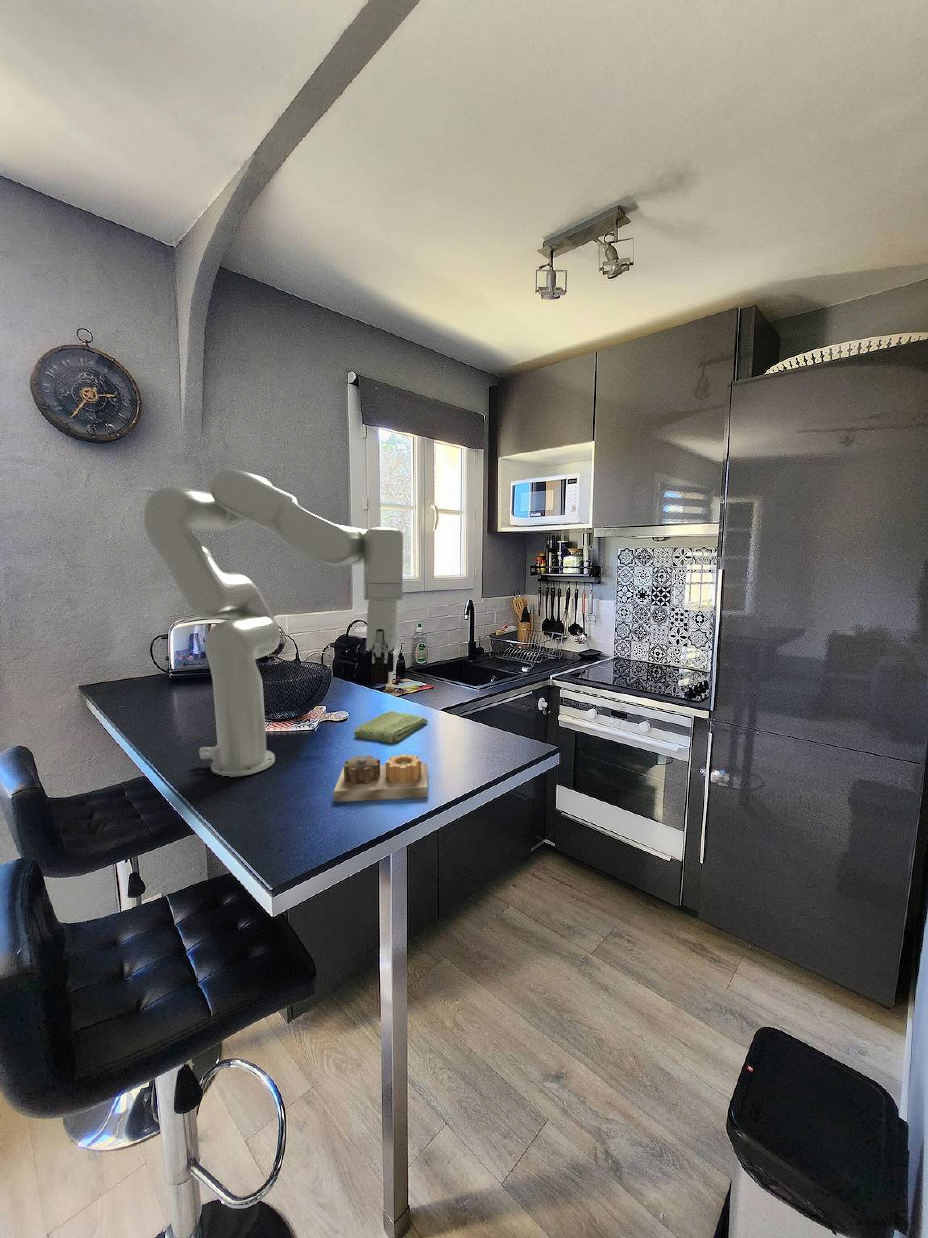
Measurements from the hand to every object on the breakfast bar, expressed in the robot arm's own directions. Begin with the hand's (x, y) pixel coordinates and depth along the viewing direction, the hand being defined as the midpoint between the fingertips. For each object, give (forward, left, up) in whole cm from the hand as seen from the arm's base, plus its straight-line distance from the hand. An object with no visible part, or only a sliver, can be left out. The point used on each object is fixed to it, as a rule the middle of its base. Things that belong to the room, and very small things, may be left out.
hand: (383, 677), depth 101 cm
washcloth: (-1, +27, -21) cm, 34 cm away
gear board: (0, -6, -20) cm, 21 cm away
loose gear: (+4, -6, -18) cm, 20 cm away
